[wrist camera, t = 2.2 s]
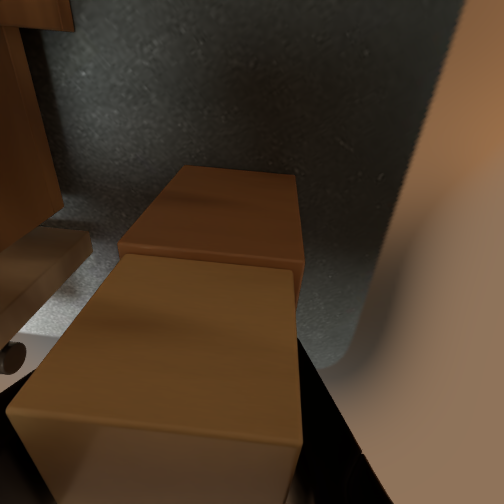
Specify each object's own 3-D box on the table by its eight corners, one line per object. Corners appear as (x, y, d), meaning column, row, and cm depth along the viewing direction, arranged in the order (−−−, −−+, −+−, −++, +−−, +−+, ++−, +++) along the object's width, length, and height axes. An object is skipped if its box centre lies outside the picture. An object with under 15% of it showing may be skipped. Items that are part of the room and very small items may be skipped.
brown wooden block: (282, 267, 17) (282, 384, 11) (187, 257, 17) (137, 367, 11) (295, 174, 14) (306, 261, 8) (183, 163, 14) (115, 242, 8)
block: (274, 378, 11) (272, 555, 7) (142, 363, 11) (69, 530, 7) (293, 268, 8) (304, 446, 5) (124, 251, 9) (0, 411, 5)
